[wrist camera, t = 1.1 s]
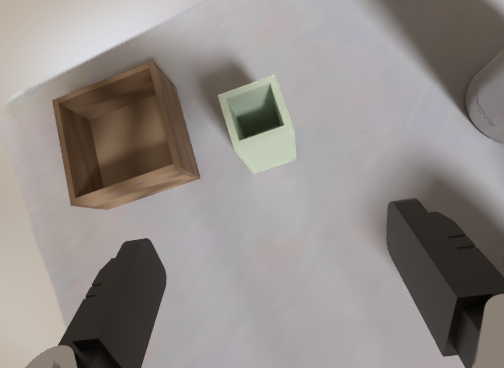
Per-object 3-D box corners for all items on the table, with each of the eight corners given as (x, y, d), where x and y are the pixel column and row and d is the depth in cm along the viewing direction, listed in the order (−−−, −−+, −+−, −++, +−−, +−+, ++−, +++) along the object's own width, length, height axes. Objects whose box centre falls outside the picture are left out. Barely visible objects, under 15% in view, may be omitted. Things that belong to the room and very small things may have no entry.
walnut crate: (175, 87, 37) (153, 60, 32) (200, 178, 35) (180, 167, 29) (89, 119, 39) (52, 100, 33) (107, 209, 36) (71, 205, 31)
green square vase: (282, 119, 34) (274, 74, 25) (296, 159, 33) (294, 129, 24) (241, 133, 35) (217, 95, 25) (253, 173, 34) (234, 150, 24)
